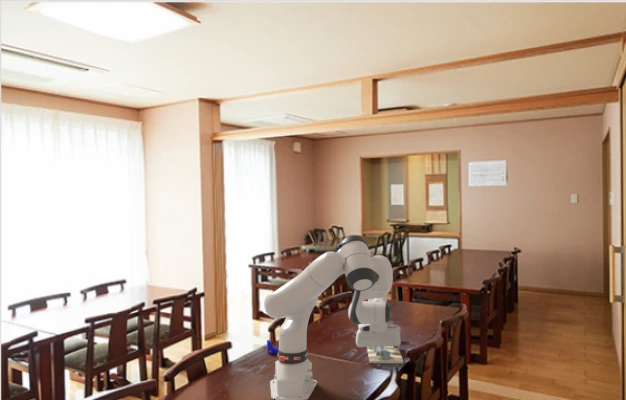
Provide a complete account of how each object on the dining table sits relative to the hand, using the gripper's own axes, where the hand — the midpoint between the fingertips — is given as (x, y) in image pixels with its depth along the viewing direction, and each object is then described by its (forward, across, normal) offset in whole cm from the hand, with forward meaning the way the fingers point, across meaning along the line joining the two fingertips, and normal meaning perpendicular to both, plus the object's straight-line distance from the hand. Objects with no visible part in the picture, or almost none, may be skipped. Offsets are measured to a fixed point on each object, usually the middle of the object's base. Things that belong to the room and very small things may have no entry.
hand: (378, 355), depth 200 cm
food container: (+2, -7, -29) cm, 30 cm away
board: (+2, -4, -6) cm, 8 cm away
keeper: (+2, -9, -10) cm, 14 cm away
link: (+1, -2, -7) cm, 7 cm away
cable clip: (+3, +46, -17) cm, 49 cm away
